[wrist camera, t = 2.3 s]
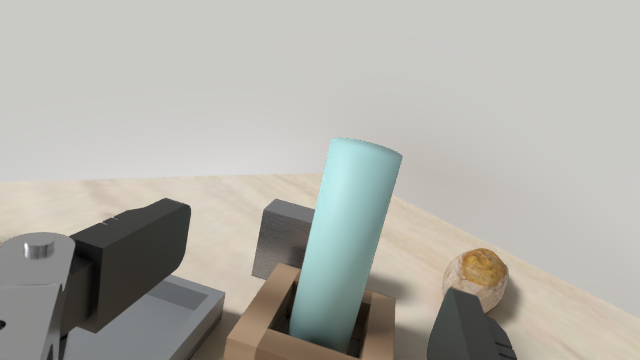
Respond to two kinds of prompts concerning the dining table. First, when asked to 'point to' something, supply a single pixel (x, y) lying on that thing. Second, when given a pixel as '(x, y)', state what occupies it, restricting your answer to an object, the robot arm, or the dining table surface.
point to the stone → (478, 276)
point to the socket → (295, 354)
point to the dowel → (343, 241)
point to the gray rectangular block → (282, 237)
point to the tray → (154, 325)
